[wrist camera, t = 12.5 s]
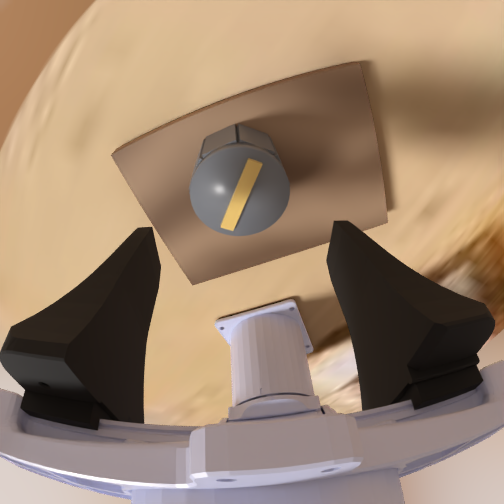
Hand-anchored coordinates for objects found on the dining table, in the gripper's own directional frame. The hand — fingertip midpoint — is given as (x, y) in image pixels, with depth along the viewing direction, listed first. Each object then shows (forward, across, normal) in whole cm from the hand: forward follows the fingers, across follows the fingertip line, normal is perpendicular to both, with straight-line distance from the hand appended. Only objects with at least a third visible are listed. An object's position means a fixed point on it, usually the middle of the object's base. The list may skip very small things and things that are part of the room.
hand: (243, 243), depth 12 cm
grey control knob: (+8, 0, 0) cm, 8 cm away
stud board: (+9, -2, +2) cm, 9 cm away
